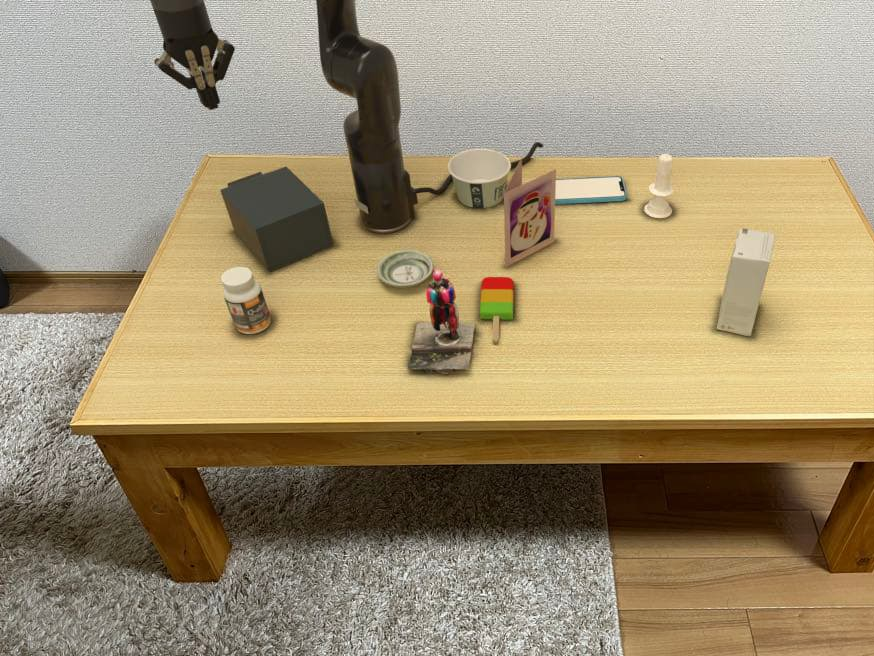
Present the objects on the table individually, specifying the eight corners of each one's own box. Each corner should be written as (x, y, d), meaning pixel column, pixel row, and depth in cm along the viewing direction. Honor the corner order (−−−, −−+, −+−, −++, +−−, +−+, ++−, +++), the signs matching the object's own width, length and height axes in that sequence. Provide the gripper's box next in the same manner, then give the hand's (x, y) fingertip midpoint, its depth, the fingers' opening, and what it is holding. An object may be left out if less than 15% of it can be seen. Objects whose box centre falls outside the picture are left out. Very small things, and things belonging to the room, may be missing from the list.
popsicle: (514, 284, 133) (513, 275, 131) (512, 345, 123) (512, 336, 121) (482, 284, 133) (481, 275, 131) (478, 345, 123) (477, 336, 121)
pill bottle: (262, 338, 123) (245, 290, 116) (229, 332, 124) (210, 284, 116) (277, 314, 127) (262, 267, 119) (245, 309, 127) (227, 262, 120)
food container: (457, 175, 155) (455, 145, 150) (515, 180, 154) (515, 150, 149) (444, 209, 147) (441, 179, 142) (505, 215, 146) (505, 184, 141)
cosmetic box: (750, 337, 124) (772, 264, 113) (713, 329, 126) (731, 256, 114) (756, 305, 130) (778, 232, 119) (721, 297, 131) (739, 224, 120)
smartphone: (547, 179, 153) (621, 175, 153) (547, 184, 154) (621, 180, 154) (550, 200, 148) (627, 197, 148) (550, 206, 149) (626, 202, 149)
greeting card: (508, 269, 135) (507, 196, 124) (482, 249, 139) (478, 176, 128) (556, 243, 140) (559, 171, 129) (530, 225, 144) (530, 153, 133)
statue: (418, 332, 126) (408, 252, 116) (475, 333, 126) (469, 252, 116) (408, 374, 118) (395, 292, 108) (468, 375, 118) (461, 293, 108)
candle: (676, 208, 148) (686, 151, 139) (664, 221, 145) (673, 165, 136) (651, 199, 150) (659, 143, 141) (639, 212, 147) (646, 156, 138)
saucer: (372, 268, 135) (370, 257, 133) (424, 255, 138) (423, 244, 136) (387, 301, 129) (385, 290, 127) (441, 287, 132) (440, 276, 130)
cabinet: (234, 232, 141) (219, 189, 135) (297, 208, 147) (286, 166, 140) (269, 272, 134) (255, 229, 127) (334, 245, 139) (324, 202, 132)
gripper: (209, -19, 122) (239, 87, 135) (124, 1, 116) (165, 110, 129) (228, -4, 118) (258, 104, 131) (142, 18, 112) (182, 128, 125)
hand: (211, 107), depth 130 cm, fingers closed
